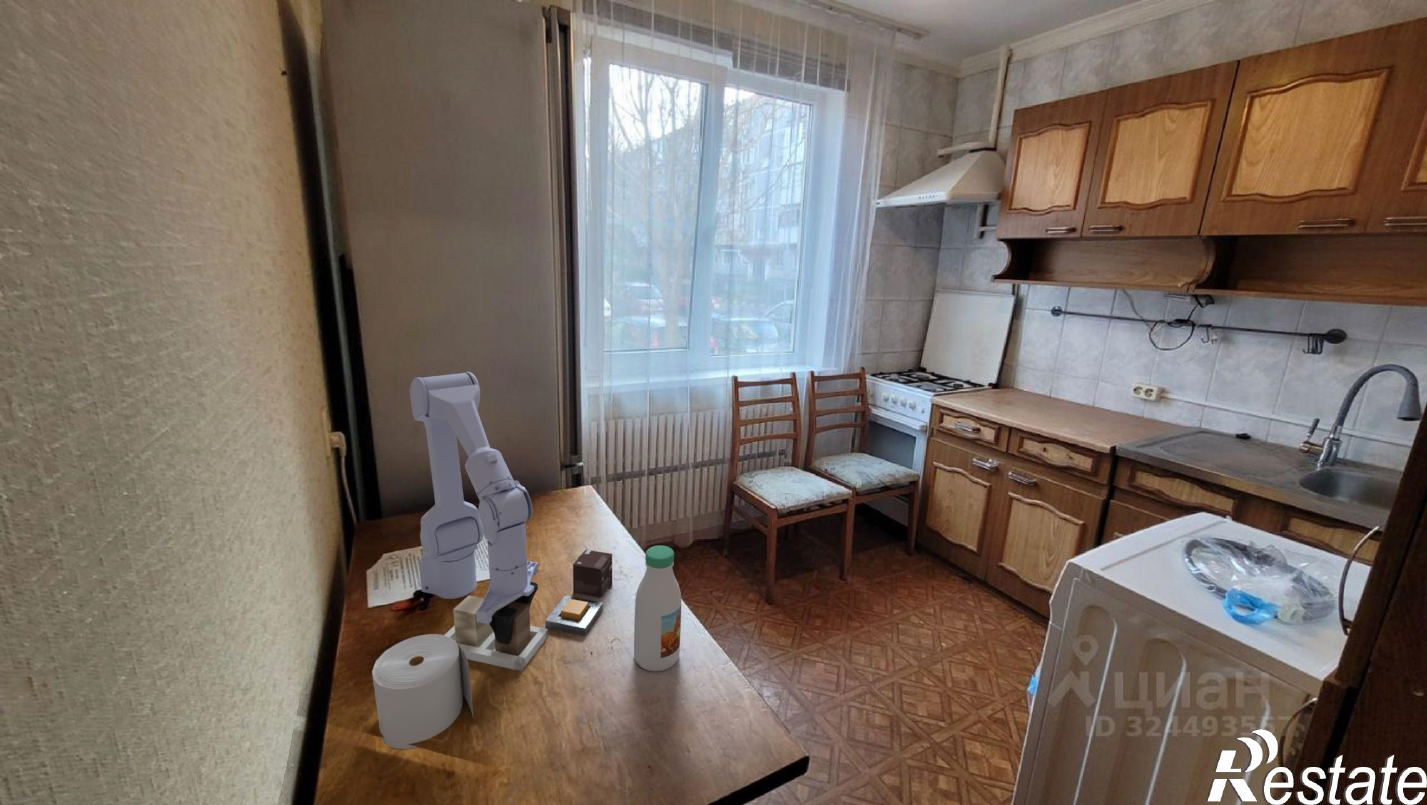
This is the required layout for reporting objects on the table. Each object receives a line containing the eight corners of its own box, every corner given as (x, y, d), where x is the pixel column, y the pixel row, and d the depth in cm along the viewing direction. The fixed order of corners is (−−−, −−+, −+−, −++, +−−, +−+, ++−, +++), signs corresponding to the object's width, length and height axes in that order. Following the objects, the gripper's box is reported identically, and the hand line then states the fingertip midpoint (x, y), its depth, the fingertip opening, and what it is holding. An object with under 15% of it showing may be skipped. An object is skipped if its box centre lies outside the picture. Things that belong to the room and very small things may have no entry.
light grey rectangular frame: (436, 656, 90) (434, 644, 89) (468, 624, 98) (467, 612, 97) (521, 676, 87) (521, 663, 86) (548, 641, 95) (547, 629, 94)
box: (601, 602, 106) (601, 569, 104) (572, 597, 107) (571, 564, 105) (613, 585, 112) (613, 553, 110) (585, 580, 113) (585, 548, 111)
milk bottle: (643, 678, 88) (645, 569, 82) (627, 648, 94) (629, 544, 89) (686, 664, 91) (691, 558, 86) (668, 636, 98) (672, 536, 93)
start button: (561, 625, 98) (560, 610, 98) (570, 612, 102) (570, 598, 101) (579, 628, 98) (579, 614, 97) (588, 616, 101) (588, 602, 100)
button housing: (545, 632, 97) (545, 620, 96) (565, 606, 104) (565, 595, 103) (585, 640, 95) (585, 628, 95) (602, 614, 103) (602, 602, 102)
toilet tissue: (385, 700, 81) (377, 643, 78) (473, 679, 86) (469, 625, 83) (374, 760, 72) (365, 698, 69) (474, 733, 76) (469, 673, 74)
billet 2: (495, 651, 90) (493, 614, 88) (509, 635, 93) (507, 600, 92) (517, 656, 89) (515, 619, 87) (530, 639, 93) (529, 604, 91)
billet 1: (456, 645, 91) (453, 609, 89) (471, 630, 95) (468, 595, 93) (477, 650, 90) (474, 613, 89) (491, 634, 94) (489, 599, 92)
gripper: (504, 591, 79) (508, 669, 83) (553, 542, 93) (555, 611, 97) (461, 583, 81) (467, 659, 84) (516, 536, 94) (519, 604, 98)
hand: (511, 633), depth 91 cm, fingers closed on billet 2, 4 cm apart
